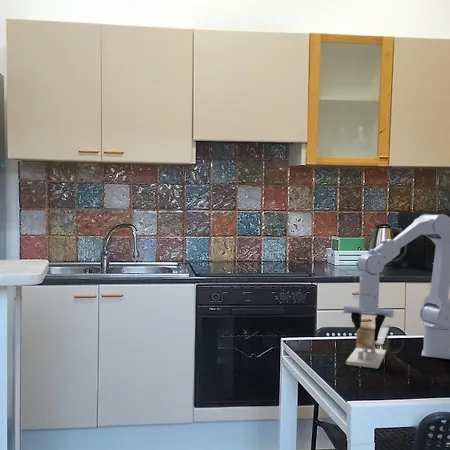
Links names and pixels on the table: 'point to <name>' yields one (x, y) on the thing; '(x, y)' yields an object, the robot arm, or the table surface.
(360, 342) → the tan block
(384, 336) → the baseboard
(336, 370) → the table surface
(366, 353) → the peg rack
